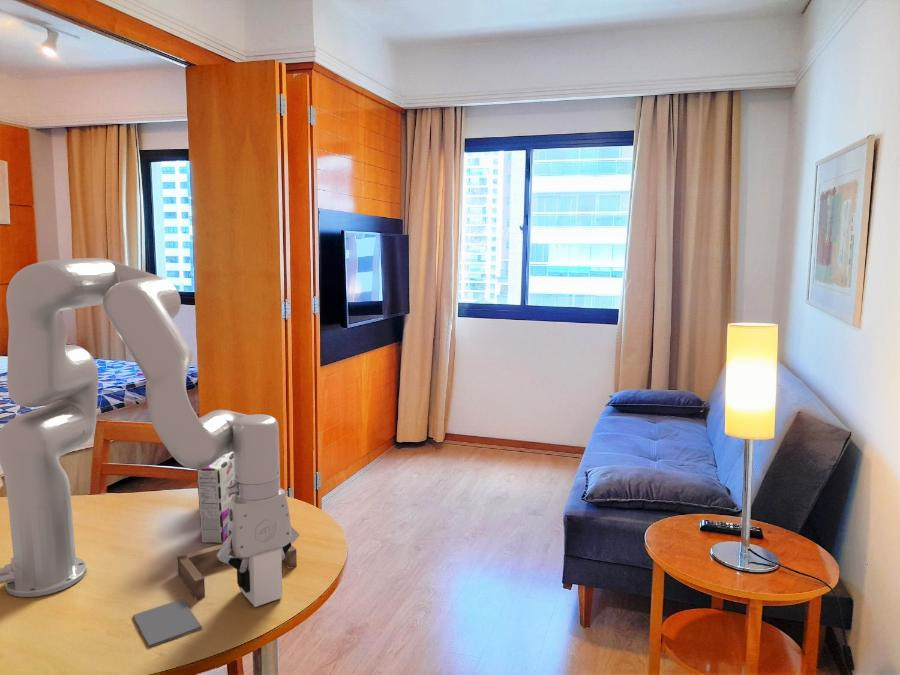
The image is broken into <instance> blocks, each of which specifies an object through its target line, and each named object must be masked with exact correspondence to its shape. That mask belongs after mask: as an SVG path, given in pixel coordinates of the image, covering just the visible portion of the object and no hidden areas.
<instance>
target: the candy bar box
mask: <svg viewBox="0 0 900 675" xmlns="http://www.w3.org/2000/svg"><path fill="white" fill-rule="evenodd" d="M196 476H197V477H196V478H197V493H198V494H197V496H198V507H199V510H198V511H199V522H200V523H199V526H200V527H199V528H200V541H201V543H203V544H224V543H225V541H226V540H227V533H228V516H229V508H230V503H231V498H232V496H233V494H230V495H228V494H227V487H230V486H231V485H233V480H234V453H233V452H230V453H227V454H225V455H223V456H222V457H220V458H219V459H218V460H216V461H215V462H214V463H212V464H211V465H209V466H208V467H205V468H202V469H196Z"/></svg>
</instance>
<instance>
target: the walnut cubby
mask: <svg viewBox="0 0 900 675" xmlns="http://www.w3.org/2000/svg"><path fill="white" fill-rule="evenodd" d="M223 544H224V543H220V544H218V545H214V546H211V547H207V548H204V549H203V548H202V549H200V550H197V551H193V552H190V553H187V554H184V555H183V554H182V555H179V556H177V558H176V559H177V574H178V576H179V577H180V579H181V580H182V581H183V583H184V584H185V585H186V588H188V590H189V591H190V593H191V594H192V596H193V597H194V598H195V600H199V599H202V598H206V591H205V590H206V588H205V587H206V586H205V578H204V576H203V575H202V574H201V572H204V571H206V570H210V569H209V568H211V569H214V568H217V567H220V566H224V565H226V563H224V562H222V561H220V560H219V559H218V558H217V557H216V555H217V553H218V552H219V550H220V549H221V547H222V546H223ZM229 555H231V556H233V557H236V556H235V554H234V551H233V550H231V551H230V553H229ZM297 556H298V555H297V548H295V547H294V546H293V545H292V544H291V547H290V548H289V550H288V551H287V552H286V554H285V558H284V559H283V560H282V564H284V565H285V566H286V567H287V566H288V567H289V568H290V569H292V568H295V567H294V566H296V567H297V563H298V562H297ZM223 564H224V565H223ZM213 567H214V568H213ZM288 567H287V568H288ZM289 568H288V569H289ZM203 570H204V571H203Z"/></svg>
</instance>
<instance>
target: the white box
mask: <svg viewBox="0 0 900 675" xmlns="http://www.w3.org/2000/svg"><path fill="white" fill-rule="evenodd" d="M247 570H248V571H249V575H250V591H249V592H248V593H246V592H245V591H244V590H243V589H242V588H240V587H239V586H238V588H239V591H240V592H241V594H243V595H244V596H245V597H246V598H247V600H248V601H249V602H250V603H251V605H253V607H254V608H256V607H260V606H262V605H265V604H268V603H271V602H274V601H276V600H279V599H282V598H283V572H282V571H283V562H282V559H281V549H280V548H277V549H274V550H271V551H268V552H264V553H261V554H258V555H254V556H251V557H249V561H248V565H247Z"/></svg>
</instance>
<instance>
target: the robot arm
mask: <svg viewBox="0 0 900 675" xmlns="http://www.w3.org/2000/svg"><path fill="white" fill-rule="evenodd" d="M180 295H181V294H180V293H179V291H178V290H177V288H176V286H175V285H174V284H172V283H171V282H170V281H169V280H167V279H166V278H163V277H161V276H159V275H156V274H153V273H150V272H148V271H144V270H141V269H138V268H135V267H132V266H130V265H126V264H124V263H120V262H118V261H115V260H111V259H108V258H102V257H87V258H86V257H84V258H83V257H82V258H62V259H61V258H58V259H50V260H45V261H40V262H35V263H32V264H30V265H29V264H28V265H27V266H25V267H24V268H23V267H22V268H21V269H20V270H18V271H17V272H16V273H15V274H14V275H13V276H12V278H11V280H10V281H9V284H8V286H7V290H6V296H5V300H6V301H5V302H6V313H7V318H8V319H7V320H8V337H7V338H8V341H7V369H6V370H7V372H6V378H7V379H6V382H7V384H6V385H7V386H6V387H7V392H8V395H9V398H10V399H11V400H12V401H13V403H15V404H16V405H18V406H19V407H23V408H35V409H33V410H31V411H30V410H29V411H28V412H25V413H22V414H20V415H18V416H16V417H13V418H12V419H10V420H9V421H7V422H6V423H5V424H4V425H3V426H2V427H1V428H0V467H1V470H2V472H3V473H2V474H3V477H4V482H5V489H6V496H7V506H8V513H9V523H10V524H9V525H10V534H11V535H10V536H11V543H12V555H13V557H11V558H10V563H9V564H5V565H4V567H0V585H1V584H4V583H5V590H6V592H7V593H8V594H10V595H12V596H14V597H20V598H35V597H42V596H46V595H50V594H55V593H58V592H59V591H62V590H65V589H67V588H69V587H71V586H74V585H75V584H77V583H78V582H79V581H81V579H82V578H83V577H84V576H85V575H86V573H87V564H86V562H85V560H83V559H81V558H79V557H77V556H76V554H77V553H76V544H75V532H74V519H73V506H72V495H71V484H70V480H69V477H68V474H67V473H66V471H65V470H64V468H63V467H62V465H61V463H60V458H61V457H63V456H64V455H66V454H68V453H71V452H72V451H74V450H76V449H78V448H80V447H81V446H83V445H84V444H86V443H87V442H88V441H90V439H91V438H92V436H93V435H94V432H95V429H96V425H97V412H98V395H99V394H98V393H99V371H98V370H99V369H98V366H97V363H96V360H95V359H94V357H93V356H92V354H91V353H90V352H89V351H87V349H85V348H84V347H82V346H79V345H75V344H67V340H68V331H67V325H66V322H65V319H64V317H63V316H62V314H61V312H62V311H63V312H64V311H68V310H75V309H76V310H77V309H81V308H89V307H93V306H94V307H96V306H100V305H101V306H102V307H103V311H104V313H105V315H106V317H107V318H108V320H109V322H110V324H111V325H112V327H113V329H115V332H116V334H117V335H118V337H119V338H120V340H121V341H122V343H123V344H124V345H125V347H126V349H127V350H128V351H129V354H130V355H131V356H132V358H133V361H134V362H135V364H136V365H137V367H138V368H139V369H140V371H141V373H142V374H143V377H144V378H145V379H144V380H145V396H146V397H145V398H146V404H147V408H148V409H147V410H148V413H149V414H148V415H149V418H150V420H151V423H152V426H153V429H154V430H155V432H156V434H157V435H158V437H159V438H160V440H161V442H162V443H163V445H164V447H165V448H166V449H167V451H168V452H169V453H170V455H171V456H172V457H173V458H174V459H175V461H177V462H178V463H179V464H180V465H182V466H183V467H184V468H187V469H190V470H197V469H202V468H205V467H208V466H209V465H211V464H212V463H214V462H215V461H216V460H218V459H219V458H220V457H222V456H223V455H225V454H227V453H230V452H233V453H234V480H233V485H231V486H230V487H227V494H228V495H230V494H233V496H232V498H231V503H230V508H229V516H228V533H227V539H226V540H225V541H224V543H222V544H223V546H222V547H221V549H220V550H219V552H218V553H217V555H216V557H217V558H218V559H219V560H220V561H222V562H224V563H226V564H227V565H229V566H230V567H232V568H234V569H236V580H237V585H238V586H237V587H238V588H239V587H240V588H242V589H243V590H244V591H245V592H246V593H248V592H249V591H250V575H249V571H248V570H247V565H248V561H249V557H251V556H254V555H258V554H261V553H264V552H268V551H271V550H274V549H277V548H280V549H281V559H282V560H283V559H284V558H285V554H286V552H287V551H288V550H289V548H290V547H291V545H292V544H294V543H295V541H297V539H298V538H299V537H300V533H299V532H298V531H297V530H296V529H295V528H294V527H293V526H292V525H291V524H292V522H291V514H290V508H289V502H288V498H287V495H286V491H285V489H283V488H282V487H281V475H280V474H281V469H280V468H281V467H280V466H281V465H280V433H279V432H280V430H279V428H280V427H279V422H278V420H277V419H276V418H275V417H274V416H272V415H268V414H258V413H257V414H245V413H241V412H237V411H232V410H227V409H215V410H212V411H210V412H208V413H206V414H205V415H203V416H201V417H199V416H198V414H197V413H196V412H195V410H194V408H193V406H192V404H191V401H190V399H189V396H188V393H187V392H188V391H187V376H188V373H189V370H190V366H191V363H192V360H193V357H194V356H193V350H192V348H191V347H190V345H189V344H188V342H187V340H186V339H185V338H184V336H183V334H182V333H181V331H180V329H179V328H178V326H177V324H176V323H175V321H174V320H173V319H174V318H175V317H176V316H177V315H178V314H179V312H180V309H181V306H182V305H181V304H182V303H181V302H182V301H181V296H180ZM231 550H233V551H234V554H235V556H236V557H233V556H231V555H229V553H230V551H231ZM226 564H225V565H226ZM282 573H283V570H282Z"/></svg>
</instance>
